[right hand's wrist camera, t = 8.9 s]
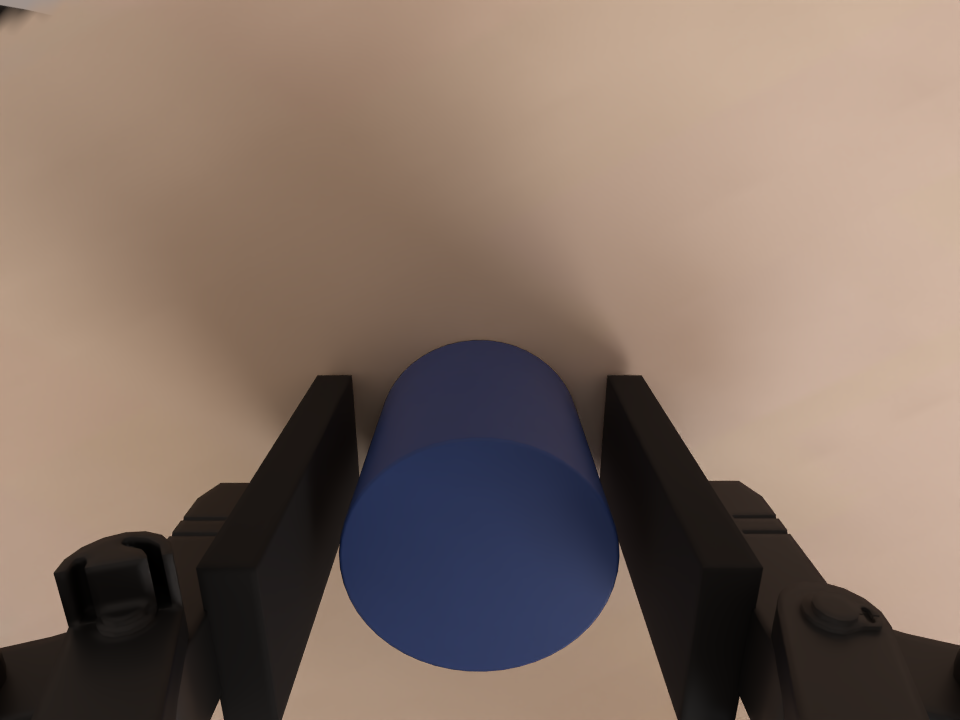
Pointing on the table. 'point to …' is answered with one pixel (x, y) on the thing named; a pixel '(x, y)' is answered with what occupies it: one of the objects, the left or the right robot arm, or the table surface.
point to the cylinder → (479, 514)
